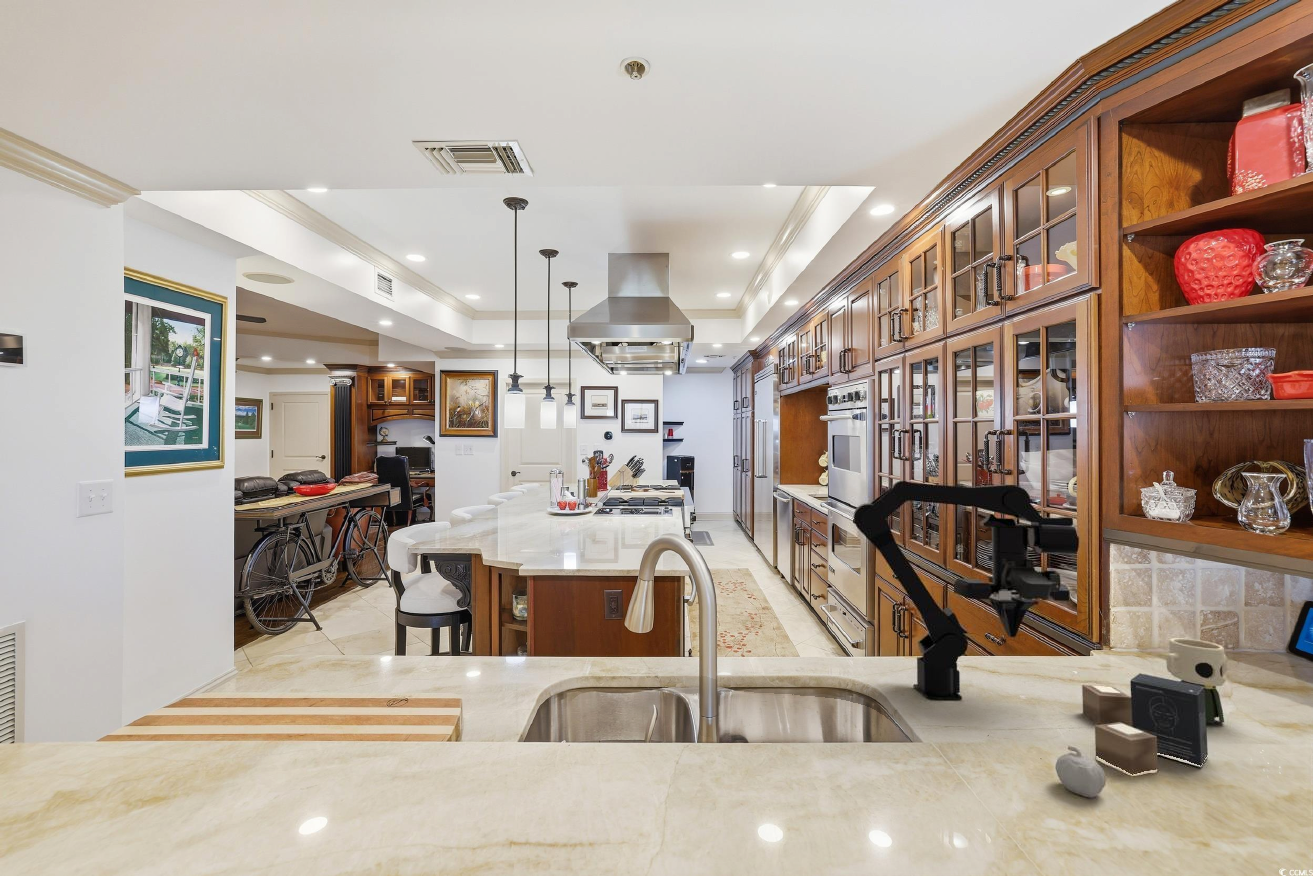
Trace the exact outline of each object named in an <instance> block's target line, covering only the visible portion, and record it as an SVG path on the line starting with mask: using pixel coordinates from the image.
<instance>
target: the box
mask: <svg viewBox="0 0 1313 876" xmlns="http://www.w3.org/2000/svg"><path fill="white" fill-rule="evenodd" d="M1180 681H1181V680H1180ZM1180 681H1179V680H1174V679H1170V678H1165V677H1159V676H1156V675H1150V674H1145V673H1141V672H1140V673H1138V674H1137V675H1135V676H1134V677H1132V678H1131V679H1130V682H1129V683H1130V697H1131V707H1132V727H1134V728H1136V729H1139V730H1141V731H1144V732H1146V733H1149V734H1151V735H1154V736H1156V737H1157V753H1160V754H1164V755H1169V756H1173V757H1176V758H1180V759H1183V760H1187V761H1189V762H1191V763H1194V764H1197V765H1200V766H1201V765H1202V763H1203V762H1204V760H1205V758H1206V757H1207V755H1208V756H1209V753H1208V735H1207V734H1208V733H1207V722H1206V712H1205V693H1204V687H1203V686H1199V685H1194V684H1189V683H1184V682H1180ZM1207 758H1208V757H1207Z"/></svg>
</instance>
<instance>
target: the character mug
mask: <svg viewBox="0 0 1313 876" xmlns="http://www.w3.org/2000/svg"><path fill="white" fill-rule="evenodd" d="M1168 645H1169V647H1168V649H1169V653H1167V654H1166V670H1167V672H1168V673H1170V674H1171V676H1173V677H1174V678H1177V679H1179V680H1180V682H1184V683H1189V684H1194V685H1199V686H1203V687H1204V693H1205V712H1206V724H1215V723H1216V721H1215V719H1216V718H1218V721H1219V724H1223V723H1225V718H1224V717H1225V716H1224V712H1223V706H1222V703H1221V702H1222V701H1221V698H1220V693H1219V691H1218V690H1217V687H1221V686H1223V685H1224V684H1225V683H1226V682H1227V674H1226V673H1227V672H1228V658H1227V655H1226V653H1225V648H1224V646H1222V645H1220V644H1216V643H1214V642H1209V641H1206V640H1205V641H1204V640H1200V639H1199V640H1198V639H1194V638H1193V639H1192V638H1184V637H1183V638H1182V637H1181V638H1180V637H1174V638H1170V639H1169V641H1168Z"/></svg>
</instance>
